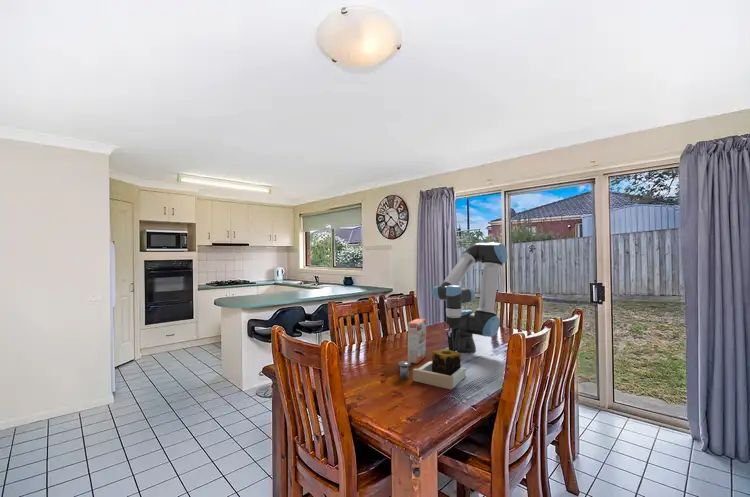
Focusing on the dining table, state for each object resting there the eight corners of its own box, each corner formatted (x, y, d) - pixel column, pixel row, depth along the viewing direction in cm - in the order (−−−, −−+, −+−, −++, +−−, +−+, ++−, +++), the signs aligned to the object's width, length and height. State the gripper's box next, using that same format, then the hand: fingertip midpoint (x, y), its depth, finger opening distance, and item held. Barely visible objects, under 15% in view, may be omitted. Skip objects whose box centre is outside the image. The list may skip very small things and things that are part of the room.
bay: (429, 369, 171) (429, 359, 171) (465, 376, 161) (465, 365, 161) (413, 380, 156) (413, 369, 156) (451, 389, 146) (451, 377, 146)
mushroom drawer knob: (402, 374, 164) (402, 360, 164) (412, 377, 160) (412, 362, 160) (396, 378, 159) (396, 363, 159) (407, 380, 156) (407, 365, 156)
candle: (444, 378, 158) (444, 357, 158) (431, 371, 167) (431, 351, 167) (461, 374, 163) (461, 353, 163) (447, 368, 172) (447, 348, 172)
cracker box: (418, 364, 178) (418, 323, 179) (407, 362, 181) (407, 322, 181) (426, 356, 191) (426, 318, 191) (416, 355, 194) (416, 317, 194)
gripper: (451, 313, 181) (451, 358, 181) (441, 317, 170) (441, 365, 170) (465, 315, 177) (465, 361, 177) (456, 319, 166) (456, 368, 166)
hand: (453, 363), depth 174 cm, fingers closed
